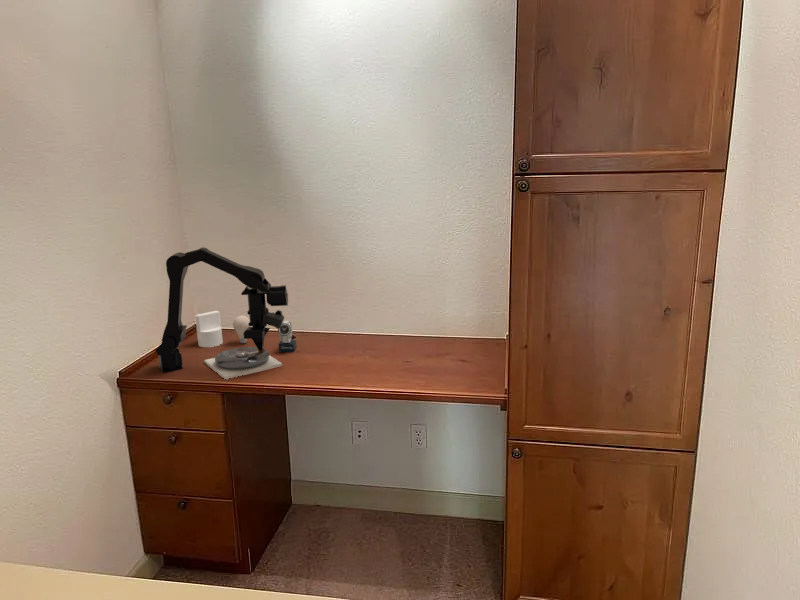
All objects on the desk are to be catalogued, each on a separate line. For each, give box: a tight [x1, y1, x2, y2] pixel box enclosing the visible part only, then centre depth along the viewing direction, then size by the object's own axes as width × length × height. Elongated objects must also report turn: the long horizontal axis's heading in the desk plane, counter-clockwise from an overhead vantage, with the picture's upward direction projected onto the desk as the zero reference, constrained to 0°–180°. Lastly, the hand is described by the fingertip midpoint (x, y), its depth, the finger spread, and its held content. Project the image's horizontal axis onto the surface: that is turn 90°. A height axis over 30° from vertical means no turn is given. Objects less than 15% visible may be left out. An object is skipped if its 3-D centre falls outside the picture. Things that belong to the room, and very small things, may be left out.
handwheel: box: [214, 344, 270, 369], centre depth 208 cm, size 18×18×6 cm
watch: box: [277, 320, 298, 353], centre depth 221 cm, size 6×8×11 cm
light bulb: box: [232, 315, 251, 344], centre depth 230 cm, size 7×7×11 cm
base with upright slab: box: [194, 310, 224, 348], centre depth 230 cm, size 9×9×12 cm
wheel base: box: [204, 354, 283, 380], centre depth 209 cm, size 20×20×2 cm
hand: (260, 350), depth 208 cm, fingers closed
